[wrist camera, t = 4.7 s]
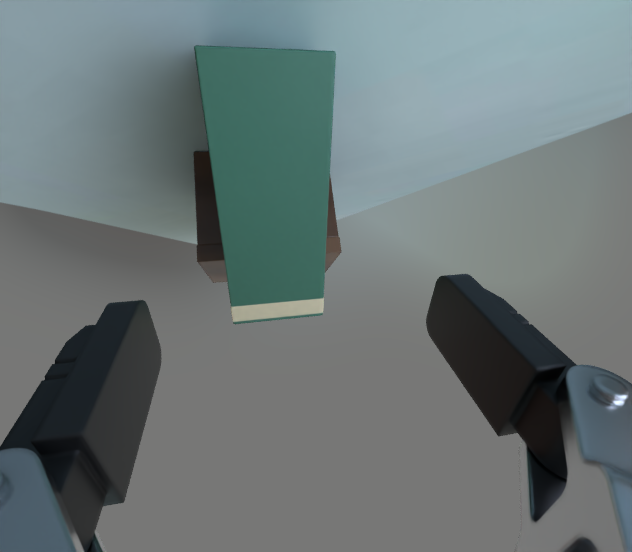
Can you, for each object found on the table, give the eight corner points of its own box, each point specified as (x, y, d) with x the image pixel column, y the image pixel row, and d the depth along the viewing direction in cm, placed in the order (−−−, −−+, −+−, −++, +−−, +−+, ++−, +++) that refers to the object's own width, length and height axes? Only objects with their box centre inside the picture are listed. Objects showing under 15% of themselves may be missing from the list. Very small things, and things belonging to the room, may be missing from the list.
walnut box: (192, 150, 24) (197, 262, 22) (327, 149, 26) (341, 252, 24) (208, 195, 31) (213, 282, 29) (314, 191, 32) (324, 273, 31)
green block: (190, -18, 13) (205, 301, 10) (327, -8, 14) (372, 286, 11) (226, 161, 26) (237, 327, 23) (297, 160, 27) (315, 319, 24)
